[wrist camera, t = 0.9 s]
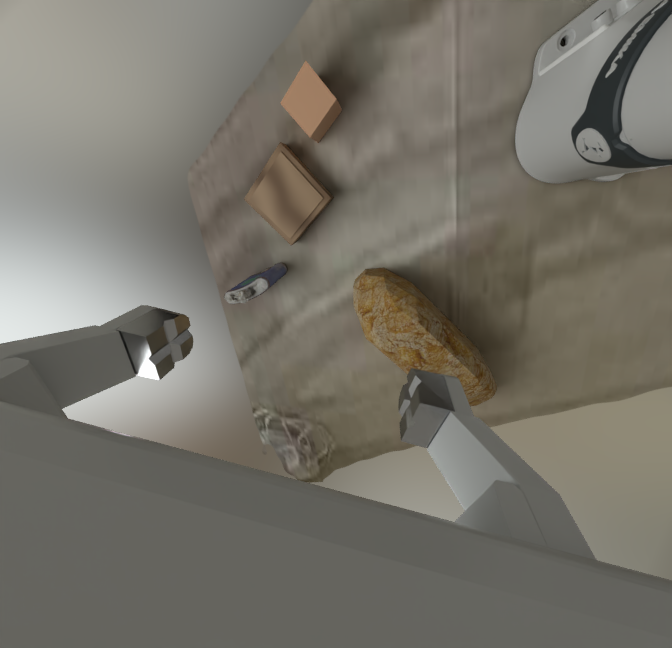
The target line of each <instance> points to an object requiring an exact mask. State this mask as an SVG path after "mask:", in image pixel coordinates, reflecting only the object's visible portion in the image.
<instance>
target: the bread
mask: <svg viewBox="0 0 672 648" xmlns="http://www.w3.org/2000/svg"><path fill="white" fill-rule="evenodd" d="M354 308H355V310H356V313H357V315H358V318H359V321H360V323H361V326H362V329H363V331H364V334H365V336H366V339H367V340H368V341H370V342H371V343H372V344H373V345H374V346H375V347H377V348H378V349H379V350H380V351H381V352H382V353H383V354H385V355H386V356H387V357H388V358H389V359H390V360H392V361H393V362H394V363H395V364H396V365H397V366H399V367H400V368H401V369H402V370H403V371H404V372H405V373H407V374H408V373H409V371H410V369H411V368H415V369H420V370H424V371H428V372H433V373H437V374H444V375H449V376H454V377H457V378H458V379H459V380H460V382H461V385H462V387H463V390H464V392H465V395H466V398H467V400H468V403H469V405H470V406H475V405H478V404H480V403H482V402H485V401H487V400H489V399H491V398H492V397H493V396H494V394H495V392H496V389H497V385H496V383H495V380H494V378H493V376H492V373H491V371H490V369H489V368H488V366H487V364H486V362H485V361H484V359H483V357H482V356H481V354H480V352H479V350H478V349H477V347H476V346H475V345H474V344H473V343H472V342H471V341H470V340H469V339H468V338H467V337H466V336H465V335H464V334H463V333H462V332H461V331H460V330H459V329H458V328H457V327H456V326H455V325H454V324H453V323H452V322H451V321H450V320H449V319H448V318H447V317H446V316H445V315H444V314H443V313H442V312H441V311H440V310H439V309H438V308H436V307H435V306H434V305H433V304H432V303H431V302H430V301H429V300H428V299H427V298H426V297H425V296H424V295H423V294H422V293H421V292H420V291H419V290H418V289H417V288H416V287H415V286H414V285H413V284H412V283H411V282H409V281H407V280H405V279H404V278H402V277H400V276H398V275H396V274H394V273H392V272H390V271H389V270H387V269H385V268H375V269H365V270H364V271H363V272H362V273H361V274H360V275H359V276H358V277H357V278H356V279H355V283H354Z"/></svg>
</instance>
